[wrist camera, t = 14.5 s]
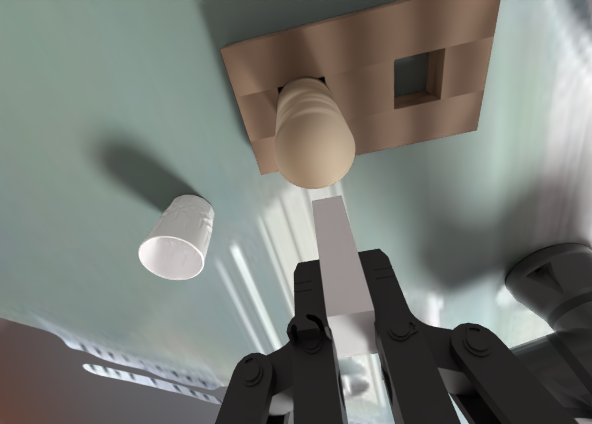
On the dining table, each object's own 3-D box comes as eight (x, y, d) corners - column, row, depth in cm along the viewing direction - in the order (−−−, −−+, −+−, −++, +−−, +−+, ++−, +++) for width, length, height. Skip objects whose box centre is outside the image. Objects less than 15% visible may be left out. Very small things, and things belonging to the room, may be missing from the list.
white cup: (225, 227, 45) (212, 275, 37) (179, 234, 46) (156, 283, 38) (208, 186, 41) (189, 231, 33) (156, 195, 41) (125, 241, 33)
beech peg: (324, 62, 31) (352, 103, 19) (331, 116, 35) (359, 181, 22) (272, 75, 32) (263, 123, 19) (284, 126, 36) (284, 195, 23)
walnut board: (478, -21, 27) (504, -24, 24) (459, 118, 36) (476, 130, 33) (227, 44, 30) (220, 49, 27) (263, 160, 38) (261, 174, 35)
